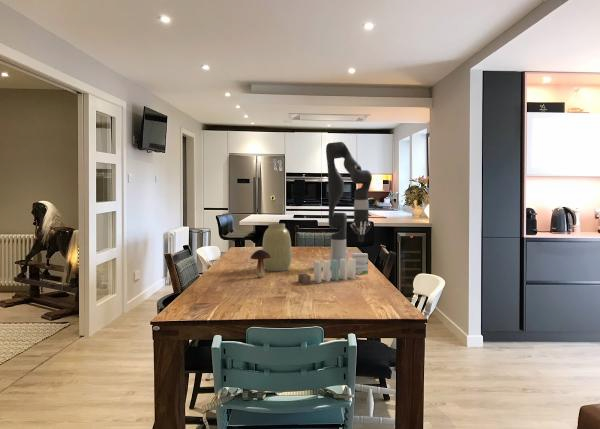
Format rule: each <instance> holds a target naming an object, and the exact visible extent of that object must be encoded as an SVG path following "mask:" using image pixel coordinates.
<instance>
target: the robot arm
mask: <svg viewBox="0 0 600 429" xmlns="http://www.w3.org/2000/svg"><path fill="white" fill-rule="evenodd" d="M325 153H326V154H325V156H326V165H327V188H328V189H327V190H328V191H327V192H328V193H327V194H328V225H329V228H331V229H340V230H339V231H337V232H335V233H332V234H331V235H330V261H331V260H338V261H339V270H340V259H345V260H347V225H348V224H347V222H348V216H347V215H348V214H346V212H335V208H336V206H337V204H338V203H339V201H340V199H341V198H342V196H343V194H344V191H345V182H344V178H343V177H342V175H341V174H340V172H339V171H338V169H337V167H336V162H335V159H344V160H343V166H344V169H345V170H346V171H347V172H348V174H349V176H350V180H351V182H352V183H354V184H355V185H356V184H357V185H360V184H361V186H360V187H359V188H356V189H355V190H354V202H353V217H354V218H353V222H352V223H350V224H349V226H350V228H351V229H352V231H353V232H354V233H355V234H357V241H358V242H359V243H363V242H364V241H365V234H367V233H369V231H370V230H371V228H372V226H373V223H371V222H370V220H369V213H370V212H369V210H370V209H369V206H370V205H369V192H370V191H369V190H370V187H371V183H372V177H373V176H372V173H371V172H370V170H365V169H364V170H363V169H362V166H361V165H360V164H359V162H357V161H356V160H355V158H354V157H353V155H352V153H351V152H350V150H349V149H348V147H347V145H346V144H345V143H344V142H343V141H337V142H334V141H333V142H328V143H327V144H326V146H325Z"/></svg>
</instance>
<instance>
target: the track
mask: <svg viewBox="0 0 600 429" xmlns="http://www.w3.org/2000/svg"><path fill="white" fill-rule="evenodd" d="M297 275H298V277H297V280H294V281H293V282H294V283H295V284H298V285H301V286H310V285H318V284H319V285H320V284H328V283H331V284H332V283H338V282H339V283H341V282H350V281H351V282H352V281H360V280H363V278H362V277H358V276H356V279H351V278H348V275H347V280H344V279H341V278H340V276H339V280H338V281H335V280H333V279H331V277H330V281H328V282H327V281H325V280H323V278H321V282H316V281H314V279H311V278H312V277H311V275H310V274H307V273H304V272H303V273H302V272H300V273H298V274H297Z"/></svg>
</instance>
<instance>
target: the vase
mask: <svg viewBox="0 0 600 429" xmlns="http://www.w3.org/2000/svg"><path fill="white" fill-rule="evenodd" d="M262 238H263V239H262V249H261V250H263V251H265V252H267V253H268V254H269V255H270V257H271V258H266V259H263V262H264V270H266V271H267V272H268V271H269V272H285V271H287V270H289V269H290V266H291V264H292V240H291V235H290V231H289V229H287V228H286V224H285V223H281V222H279V223H268V228H266V230H265V231H264V233H263V237H262Z"/></svg>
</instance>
